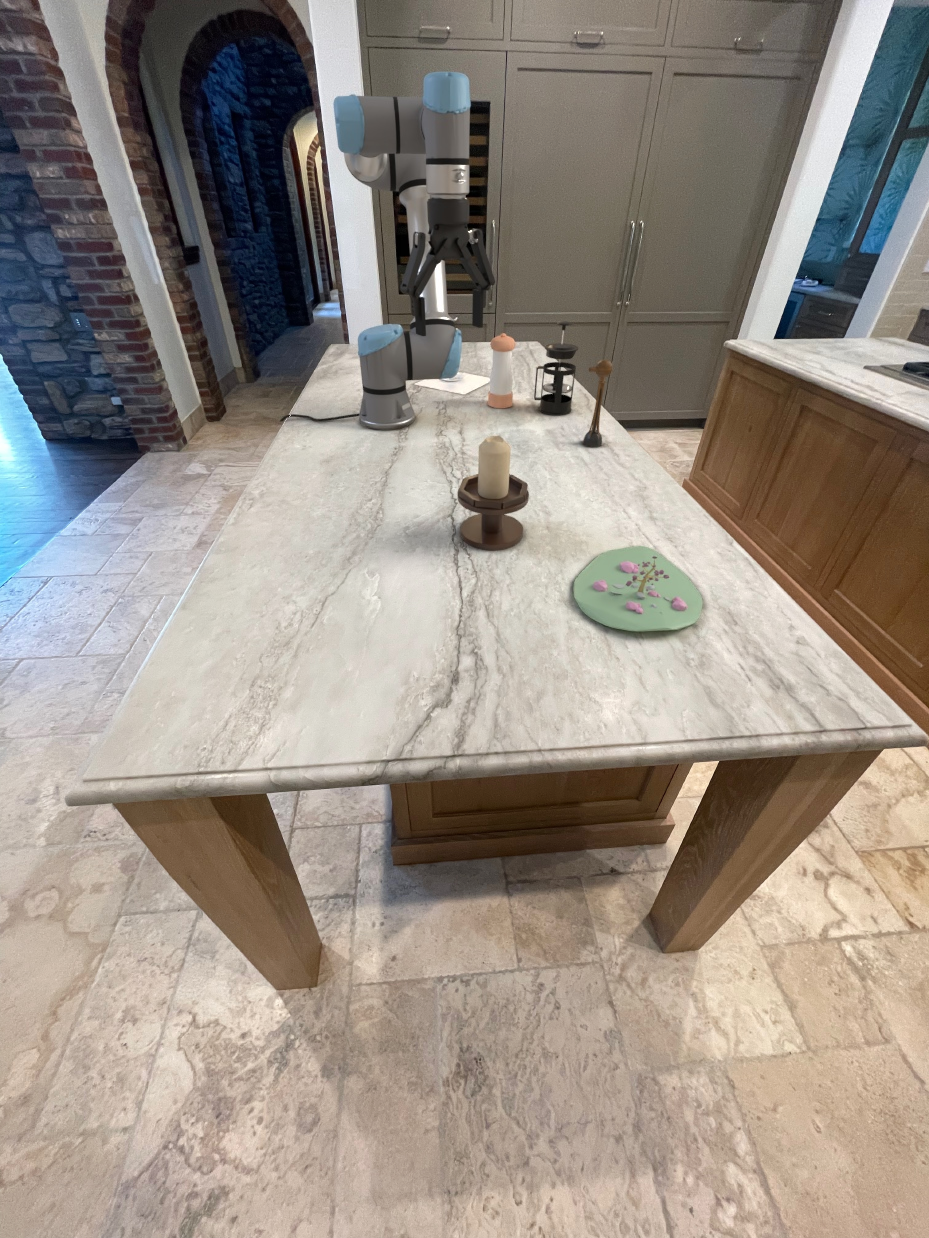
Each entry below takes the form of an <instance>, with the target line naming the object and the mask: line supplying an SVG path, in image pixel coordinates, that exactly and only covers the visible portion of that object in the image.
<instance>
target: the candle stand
mask: <svg viewBox="0 0 929 1238" xmlns="http://www.w3.org/2000/svg"><path fill="white" fill-rule="evenodd" d="M528 487H529V484H528V483H527V482H526V481H524V480H522V479H521V478H519V477H517V476H515V475H514V474H511V473H509V488H508V494H507V495H506V496H505V497H503V498H500V499H487V498H484V497H482V496H480V495H479V493H478V473H475V474H472V475H470V476H466V477H464V478H463V479H462V481H461V482H460V485H459V487H458V490H457V493H456V495H457V497H456V498H457V502H458V503H459V504H460V506H461V507H463V508H464V509H466V510H468V511H470V512H473V513H476V514H474V515H471V516H469V517H466V518H465V519H464V520H463V521H462V523H461V524H460V526H459V528H460V530H459V533H460V538H461V539H462V541H463V542H464V543H465V544H467V545H469V546H470V547H472V548H476V549H478V550H484V551H501V550H502V551H503V550H507V549H510V548H513V547H515V546H517V545H518V544H519V543H520V542H521V541H522V539H523V537H524V525H523V524H522V523H521V521H519V520H518V519H517V518H515V517H513V516H510V515H508V514H513V513H516V512H518V511H520V510H522V509H524V508H525V507H526V506H527V505H528V503H529V499H530V497H529V496H530V492H529V490H528Z"/></svg>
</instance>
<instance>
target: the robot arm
mask: <svg viewBox="0 0 929 1238" xmlns="http://www.w3.org/2000/svg"><path fill="white" fill-rule="evenodd" d="M470 91H471V90H470V80H469V77H468V76H467V75H466V74H465V73H462V72H458V71H435V72H433V71H432V72H429V73H427V74H426V75H425V76H424V78H423V95H422V96H378V95H377V96H375V95H356V94H354V93H353V94H349V95H339V96H336V97H335V98H334V99H333V103H332V104H333V113H334V122H335V132H336V139H337V147H338V149H339V151H340V152H341V153H343V157H344V162H345V165H346V167H347V170H348V171H349V173H350V174H351V176H352V177H353V178H355V179H356V180H357V181H358V182H359V183H361V184H363V185H364V186H367V187H369V188H371V189H375V190H377V191H383V192H398V200H399V202H400V203H401V204H402V206H404V207H405V209H406V221H407V232H408V244H409V247H408V248H409V258H408V261H407V264H406V267H405V271H404V274H403V277H402V281H401V284H400V287H399V290H400V292H401V293H403V294H406V295H408V296H409V298H410V313H411V316H412V317H413V318H412V320H411V321H410V322H409V330H404V328H403V326H402V325H401V324H399V323H388V324H387V323H386V324H380V325H376V326H375V325H374V326H371V327H368V328H366V329H364V330H362V331H361V332H360V333H359V335H358V337H357V350H358V351H357V355H358V357H359V365H360V375H361V385H362V397H361V403H360V408H359V413H352V414H344V415H339V416H332V417H325V418H315V417H313V416H310V415H304V414H296V413H295V414H294V413H292V414H291V413H290V414H291V416H290V414H287V415H284V416H283V417H282V418H280V420H279V422H280V423H281V422H284V421H285V420H287V419H289V418H301V419H308V420H311V421H313V422H329V421H337V420H343V419H349V418H356V417H358V418H359V423H360V425H361V426H363V427H365V428H368V429H371V430H378V431H390V430H391V431H392V430H399V429H403V428H407V427H408V426H410V425H412V424H413V423H414V422H415V419H416V415H415V410H414V407H413V404H412V402H411V399H410V397H409V394H408V391H407V381H422V380H429V379H439V380H441V379H446V378H453V377H455V376H456V375H457V373H458V372H459V370H460V366H461V365H460V364H461V359H462V347H463V346H462V345H463V341H462V340H463V338H462V331H461V330H460V328H459V329H458V328H456V327H455V320H454V319H453V318H452V317H451V316H450V315H449V307H448V292H447V279H446V278H447V277H446V275H447V274H446V262H448V261H451V260H453V261H459V262H460V264H461V265H462V267H463V269H464V270H465V271H466V273H467V275H468V277H469V278H470V280H471V281H472V282H473V284H474V287H476V288H474V289H472V306H471V307H472V314H471V319H472V320H471V321H472V323H471V326H473V327H476V328H478V329H481V328H483V327H484V309H485V308H486V306H487V291H488V292H489V290H490V289H491V286H494V285H495V284H496V279H495V276H494V273H493V269H492V267H491V264H490V259H489V257H488V254H487V251H486V248H485V245H484V234H483V229H479V228H471V229H470V230H469V227H468V226H469V223H470V200H469V199H468V198H467V197H466V196H467V195H469V193H470V121H471V119H470V118H471V107H472V102H471V96H470V95H471V93H470ZM468 243H470V246H471V249H472V250H471V251H472V253H473V255H474V259H475V261H474V259H473V258H472V254H471V252H470V250H469V248H468V247H467V245H468ZM289 416H290V417H289Z"/></svg>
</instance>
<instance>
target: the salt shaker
mask: <svg viewBox="0 0 929 1238" xmlns="http://www.w3.org/2000/svg"><path fill="white" fill-rule="evenodd" d="M489 345H490V349H491V350H492V365H491V370H490V376H489V378H490V382H489V391H488V396H487V405H488V406H489V407H491V408H495V409H507V408H510V407H512V406H513V403H514V401H513V399H514V392H513V381H514V380H513V379H514V378H513V369H512V365H513V364H512V363H513V350H514V349H515V347H516V341H515V340H514V338H513V337H512V336H510V335H509V336H508V335H507V334H506V333H504V332H502V333H500V335H497V336H495V337H493V338H492V339H491V341H490V344H489Z"/></svg>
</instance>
